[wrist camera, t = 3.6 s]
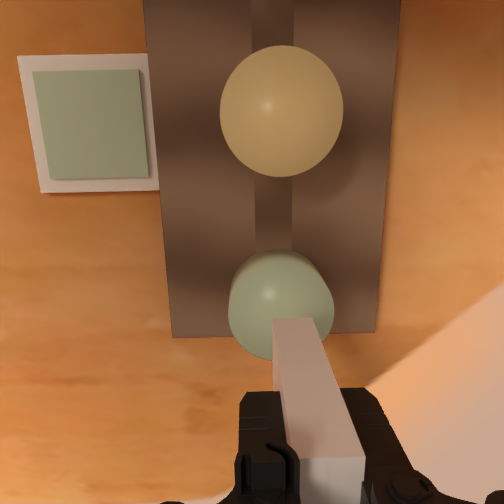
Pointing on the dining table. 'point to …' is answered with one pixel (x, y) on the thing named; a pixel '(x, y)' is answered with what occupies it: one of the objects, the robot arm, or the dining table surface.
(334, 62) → the board
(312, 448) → the robot arm
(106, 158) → the swatch
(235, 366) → the dining table surface
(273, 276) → the button green
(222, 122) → the button ochre
